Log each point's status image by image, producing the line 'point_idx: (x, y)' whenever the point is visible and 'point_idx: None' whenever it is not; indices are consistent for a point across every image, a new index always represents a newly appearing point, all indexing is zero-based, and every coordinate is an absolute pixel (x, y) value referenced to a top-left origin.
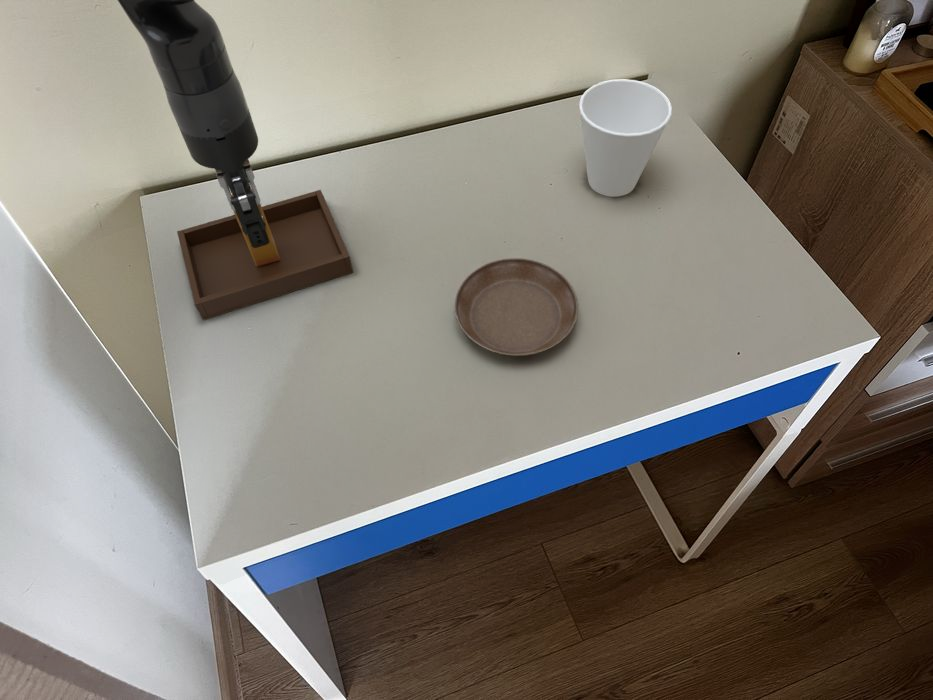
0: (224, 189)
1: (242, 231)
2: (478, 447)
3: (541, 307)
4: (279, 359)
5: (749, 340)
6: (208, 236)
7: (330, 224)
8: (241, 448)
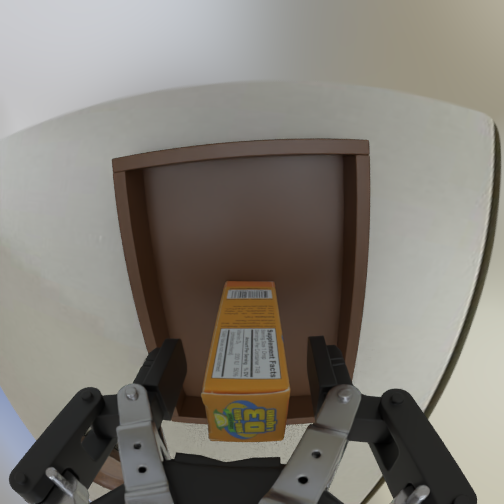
0: (126, 488)
1: (213, 336)
2: (3, 382)
3: (111, 471)
4: (50, 269)
5: (96, 497)
6: (347, 202)
7: None
8: None
